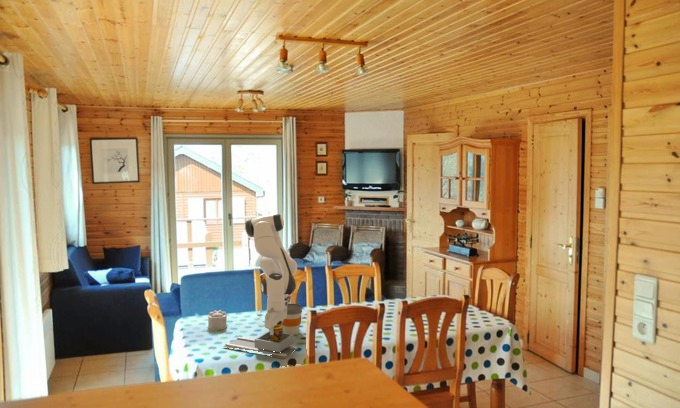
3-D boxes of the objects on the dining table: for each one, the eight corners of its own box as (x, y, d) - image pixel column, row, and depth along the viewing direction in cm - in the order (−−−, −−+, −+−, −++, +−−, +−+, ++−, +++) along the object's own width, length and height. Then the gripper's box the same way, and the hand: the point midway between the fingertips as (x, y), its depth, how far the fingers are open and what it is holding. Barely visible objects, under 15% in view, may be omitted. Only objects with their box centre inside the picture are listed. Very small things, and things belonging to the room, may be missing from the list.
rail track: (240, 338, 309) (240, 335, 309) (298, 348, 295) (298, 345, 295) (223, 348, 295) (223, 345, 295) (283, 359, 280) (283, 356, 280)
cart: (269, 340, 301) (269, 330, 300) (293, 344, 295) (293, 334, 294) (254, 349, 288) (254, 339, 287) (279, 354, 282) (279, 343, 281)
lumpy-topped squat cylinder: (208, 330, 322) (207, 315, 322) (208, 323, 335) (208, 308, 334) (226, 329, 324) (226, 314, 323) (226, 322, 337) (226, 308, 336)
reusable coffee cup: (298, 336, 313) (298, 310, 311) (277, 335, 315) (277, 308, 314) (304, 329, 325) (304, 304, 324) (283, 327, 328) (283, 302, 326)
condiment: (279, 346, 287) (279, 323, 285) (264, 344, 289) (264, 322, 287) (285, 341, 294) (284, 319, 292) (269, 340, 296) (269, 318, 294)
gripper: (272, 312, 278) (273, 339, 280) (289, 300, 297) (289, 326, 299) (261, 310, 280) (261, 337, 282) (278, 299, 299) (278, 324, 301)
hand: (276, 331), depth 290 cm, fingers open, 8 cm apart
